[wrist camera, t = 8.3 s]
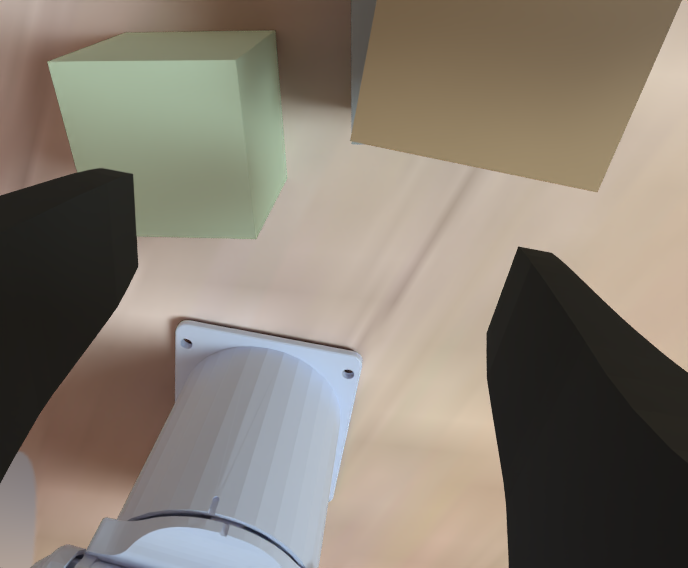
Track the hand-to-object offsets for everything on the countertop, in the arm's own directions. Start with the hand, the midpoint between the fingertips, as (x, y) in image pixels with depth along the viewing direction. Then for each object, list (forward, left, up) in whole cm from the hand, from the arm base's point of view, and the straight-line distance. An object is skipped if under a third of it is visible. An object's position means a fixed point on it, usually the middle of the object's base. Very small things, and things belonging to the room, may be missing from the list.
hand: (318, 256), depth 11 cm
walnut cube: (+4, -3, -7) cm, 8 cm away
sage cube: (-1, +5, -11) cm, 12 cm away
